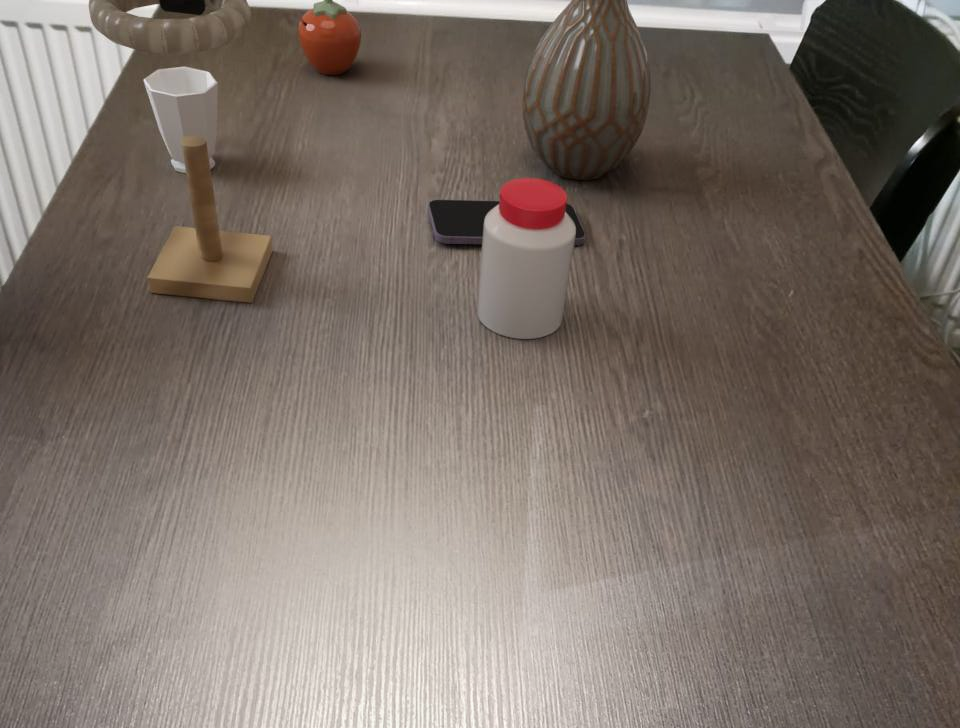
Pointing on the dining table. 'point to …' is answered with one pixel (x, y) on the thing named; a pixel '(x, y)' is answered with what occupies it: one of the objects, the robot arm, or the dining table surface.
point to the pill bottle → (526, 260)
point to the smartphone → (473, 220)
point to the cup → (184, 108)
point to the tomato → (329, 37)
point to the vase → (587, 89)
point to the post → (208, 245)
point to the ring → (170, 26)
